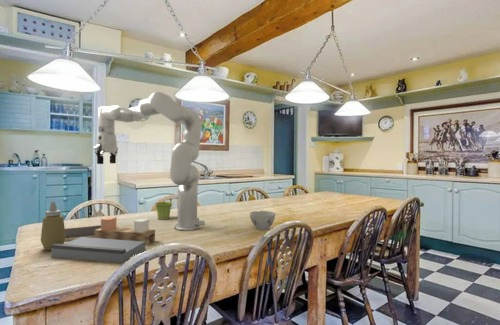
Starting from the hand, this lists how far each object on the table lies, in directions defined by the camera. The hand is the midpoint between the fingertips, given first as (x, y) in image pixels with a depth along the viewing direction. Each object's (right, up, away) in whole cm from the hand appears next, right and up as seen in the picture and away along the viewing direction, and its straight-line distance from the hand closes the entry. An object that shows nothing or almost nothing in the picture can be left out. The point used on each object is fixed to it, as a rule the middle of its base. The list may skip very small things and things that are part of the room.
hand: (106, 163), depth 150 cm
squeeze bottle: (-1, -33, -40) cm, 51 cm away
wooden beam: (+23, -33, -30) cm, 50 cm away
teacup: (+81, -33, -7) cm, 87 cm away
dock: (+20, -33, -44) cm, 59 cm away
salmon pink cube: (+15, -28, -29) cm, 43 cm away
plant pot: (+26, -31, +12) cm, 43 cm away
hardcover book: (-2, -33, -22) cm, 39 cm away
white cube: (+30, -28, -31) cm, 51 cm away
